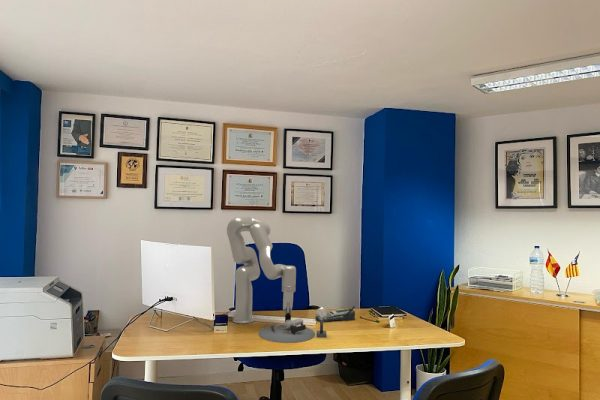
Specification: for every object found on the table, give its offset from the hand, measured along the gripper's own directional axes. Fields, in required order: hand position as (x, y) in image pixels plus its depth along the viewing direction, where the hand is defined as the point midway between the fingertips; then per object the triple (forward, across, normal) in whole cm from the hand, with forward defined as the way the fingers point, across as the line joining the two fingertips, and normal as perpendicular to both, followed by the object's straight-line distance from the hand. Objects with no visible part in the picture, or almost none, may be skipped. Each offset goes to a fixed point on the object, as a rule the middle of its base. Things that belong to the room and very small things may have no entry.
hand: (287, 321), depth 222 cm
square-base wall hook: (+3, +13, +18) cm, 22 cm away
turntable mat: (+3, +10, 0) cm, 10 cm away
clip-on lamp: (+3, +7, 0) cm, 8 cm away
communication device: (+4, -20, +27) cm, 34 cm away
